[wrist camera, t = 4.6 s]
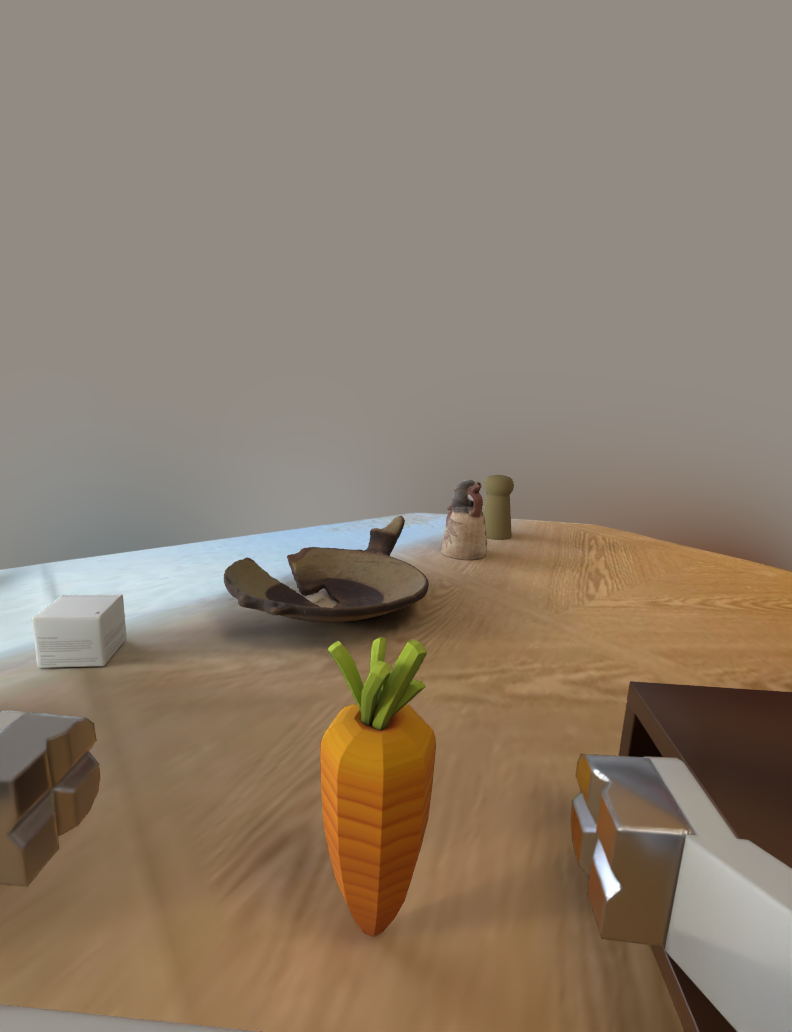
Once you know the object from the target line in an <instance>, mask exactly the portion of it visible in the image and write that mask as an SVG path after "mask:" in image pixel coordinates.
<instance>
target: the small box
mask: <svg viewBox="0 0 792 1032" xmlns="http://www.w3.org/2000/svg"><path fill="white" fill-rule="evenodd" d="M32 624H33V631H34V639H35V648H36V657H37V667H38V668H50V667H86V666H105V665H106V663H107V662H108V661H109V660H110V659H111V658H112V656H113V655H114V654H115V653H116V651H117V650H118V649H119V648H120V646H121V645H122V644H123V643H124V641H125V640H126V626H125V615H124V603H123V595H74V596H61V597H60V598H58V599H57V600H56V601H54V602H53V603H52V604H51V605H49V606H48V607H47V608H45V609H44V610H43V611H41V612H40V613H39V614H37V615H36V616H35V617H33V618H32Z"/></svg>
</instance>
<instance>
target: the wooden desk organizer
mask: <svg viewBox="0 0 792 1032" xmlns="http://www.w3.org/2000/svg"><path fill="white" fill-rule="evenodd" d="M627 701H628V702H627V705H626V712H625V718H624V725H623V731H622V738H621V744H620V751H619V756H627V757H667V758H678V759H679V760H681V761H682V762H684V764H685V765H686V766H687V768H688V769H689V771H690V772H691V774H692V775H693V776H694V778H695V779H696V781H697V782H698V784H699V785H700V786H701V788H702V789H703V791H704V792H705V794H706V795H707V796H708V798H709V799H710V801H711V802H712V804H713V805H714V806H715V808H716V809H717V811H718V812H719V814H720V815H721V816H722V818H723V819H724V821H725V822H726V824H727V825H728V826H729V828H730V829H731V831H732V832H733V834H734V835H735V836H736V838H737V839H744V840H749V841H751V842H752V843H754V844H755V845H757V846H758V847H760V848H761V849H763V850H764V851H766V852H767V853H769V854H770V855H772V856H773V857H775V858H776V859H778V860H779V861H781V862H782V863H784V864H785V865H787V866H788V867H790V868H791V869H792V692H779V691H765V690H750V689H735V688H720V687H705V686H690V685H676V684H661V683H646V682H630V684H629V691H628V697H627ZM651 948H652V950H653V953H654V955H655V958H656V960H657V963H658V965H659V968H660V970H661V973H662V975H663V978H664V980H665V983H666V985H667V988H668V990H669V993H670V995H671V998H672V1000H673V1003H674V1005H675V1008H676V1011H677V1013H678V1016H679V1018H680V1021H681V1023H682V1026H683V1028H684V1031H685V1032H737V1031H736V1030H735V1029H734V1028H733V1027H732V1025H731V1024H730V1023H729V1022H728V1021H727V1020H726V1019H725V1017H724V1016H723V1015H722V1014H721V1013H720V1012H719V1011H718V1010H717V1008H716V1007H715V1006H714V1005H713V1004H712V1003H711V1002H710V1001H709V999H708V998H707V997H706V996H705V995H704V994H703V993H702V991H701V990H700V989H699V988H698V987H697V986H696V985H695V984H694V982H693V981H692V980H691V979H690V978H689V977H688V976H687V975H686V973H685V972H684V971H683V970H682V969H681V968H680V967H679V966H678V964H677V963H676V962H675V961H674V960H673V959H672V958H671V956H670V955H669V954H668V953H667V952H666V951H665V947H664V946H656V945H651Z"/></svg>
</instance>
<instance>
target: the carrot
mask: <svg viewBox="0 0 792 1032" xmlns="http://www.w3.org/2000/svg"><path fill="white" fill-rule="evenodd" d="M328 650H329V652H330V654H331V655H332V657H333V659H334V660H335V662H336V663H337V665H338V666H339V668H340V670H341V672H342V674H343V676H344V678H345V680H346V682H347V684H348V686H349V688H350V690H351V692H352V694H353V697H354V699H355V701H356V703H357V704H353V705H349V706H346V707H345V708H343V709H342V710H341V711H340V712H339V713H338V715H337V716H336V718H335V719H334V720H333V722H332V723H331V725H330V726H329V728H328V729H327V730H326V732H325V733H324V736H323V739H322V741H321V749H320V754H321V790H322V807H323V823H324V829H325V834H326V839H327V845H328V850H329V854H330V858H331V862H332V867H333V871H334V875H335V879H336V881H337V883H338V885H339V888H340V890H341V892H342V894H343V897H344V899H345V901H346V903H347V906H348V908H349V910H350V912H351V914H352V916H353V919H354V921H355V922H356V923H357V925H358V926H359V927H360V929H361V930H362V931H363V932H364V933H365V934H368V935H371V936H375V935H377V934H379V933H381V932H383V931H384V930H385V929H386V928H387V926H388V925H389V924H390V923H391V922H392V921H393V920H394V918H395V917H396V915H397V913H398V912H399V910H400V908H401V906H402V904H403V903H404V901H405V898H406V895H407V891H408V888H409V885H410V882H411V879H412V875H413V872H414V869H415V865H416V862H417V859H418V855H419V852H420V849H421V845H422V841H423V837H424V833H425V829H426V825H427V821H428V815H429V807H430V799H431V791H432V783H433V772H434V761H435V750H436V740H435V735H434V731H433V730H432V729H431V728H430V726H429V725H428V724H427V723H426V722H425V721H424V720H423V719H422V718H421V717H420V716H419V715H418V714H417V713H416V712H415V711H414V710H413V708H411V707H410V706H409V705H407V703H408V702H409V701H410V700H412V699H413V698H414V697H415V696H416V695H417V694H418V693H419V692H420V691H421V690H422V689H423V688H425V687H426V686H425V685H424V683H423V682H422V681H417V680H413V681H412V679H413V678H414V676H415V674H416V672H417V671H418V669H419V667H420V665H421V663H422V661H423V659H424V658H425V656H426V654H427V651H426V650H425V648H424V646H423V645H422V644H421V643H420V642H418V641H415V640H413V639H412V640H410V641H408V642H407V644H406V646H405V647H404V649H403V651H402V652H401V654H400V656H399V658H398V659H397V661H396V663H395V665H394V667H393V669H392V671H391V673H390V672H389V671H390V669H391V667H390V666H389V665H388V664H387V663H386V662H384V658H385V650H386V639H385V638H384V637H380V638H377V639H376V640H374V641H373V644H372V649H371V660H370V674H369V675H368V678H367V680H366V682H365V684H364V686H363V683H362V681H361V678H360V675H359V673H358V670H357V667H356V665H355V662H354V660H353V659H352V657H351V656H350V654H349V652H348V651H347V649H346V648H345V647H344V646H343V645H342V643H341V642H340V641H337V642H335V643H333V644H332V645H331V646H330V647H329V648H328ZM411 681H412V682H411Z"/></svg>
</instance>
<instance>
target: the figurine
mask: <svg viewBox="0 0 792 1032" xmlns="http://www.w3.org/2000/svg"><path fill="white" fill-rule="evenodd" d="M480 488H481V483H479V482H476V483H475V482H474V481H472V480H464V481H463V482H462V483H460V484H459V485H458V486H457V487H456V488H455V493H454V496H453V500H452V504H451V506H448V510H449V511H450V512H449V514H448V515H447V519H446V527H445V533H444V538H443V541H442V548H441V550H442V553H443V554H444V555H445V556H448V557H451V558H456V559H464V560H474V559H480V558H483V557H485V555H486V552H487V535H486V524H485V517H484V514H483V512H482V505H483V504H482V503H483V500H482V497H481V495H480V493H479V490H480Z"/></svg>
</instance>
